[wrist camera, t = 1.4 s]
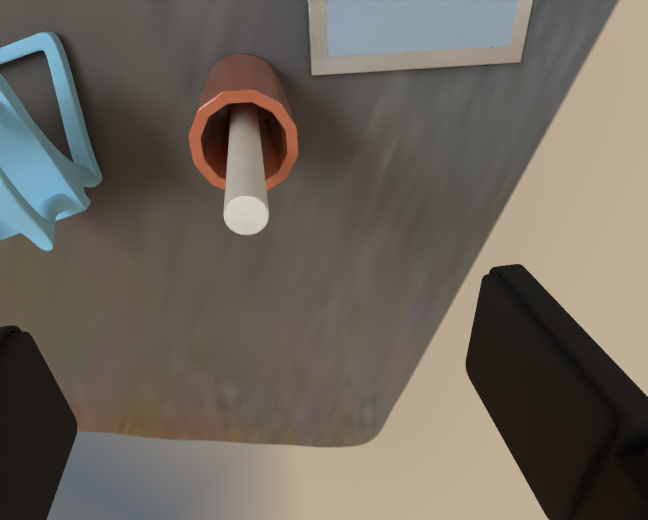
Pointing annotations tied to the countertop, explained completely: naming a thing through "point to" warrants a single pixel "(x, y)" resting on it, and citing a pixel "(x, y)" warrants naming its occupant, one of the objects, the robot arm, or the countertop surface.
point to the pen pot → (215, 110)
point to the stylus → (245, 173)
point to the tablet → (413, 34)
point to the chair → (42, 153)
